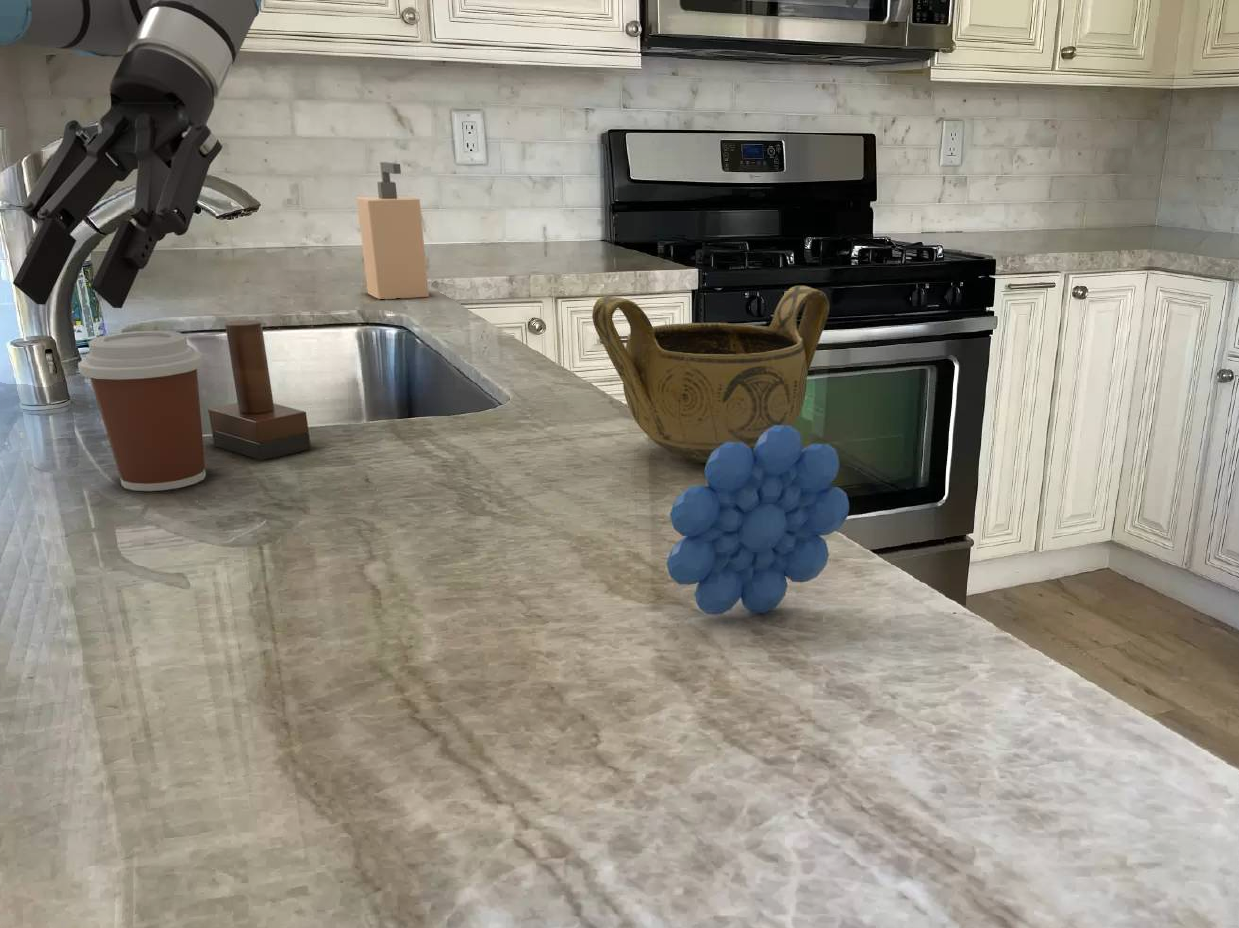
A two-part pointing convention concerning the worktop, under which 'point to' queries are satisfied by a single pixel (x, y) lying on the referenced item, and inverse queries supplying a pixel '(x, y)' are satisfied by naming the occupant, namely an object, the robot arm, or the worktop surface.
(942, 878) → the worktop surface
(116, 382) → the coffee cup
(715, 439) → the ceramic bowl
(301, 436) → the rubber stamp
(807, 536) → the blue flower shape
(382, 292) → the soap dispenser
